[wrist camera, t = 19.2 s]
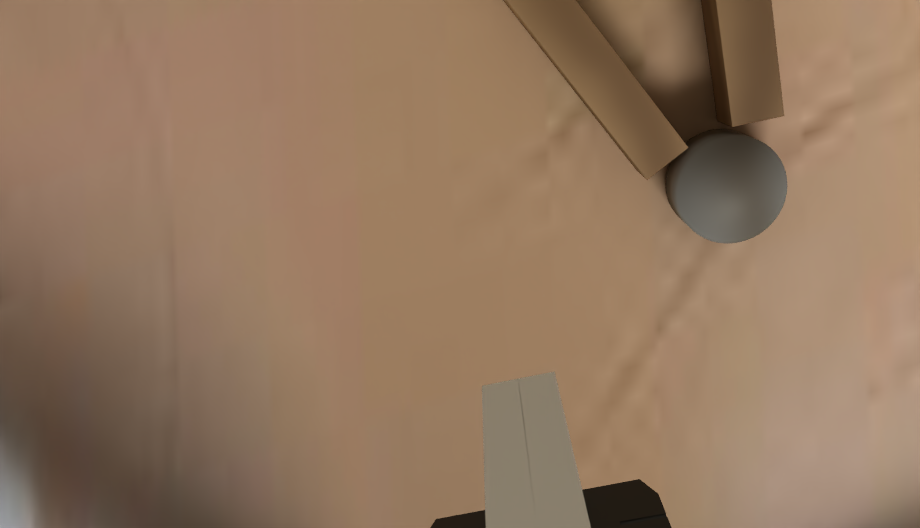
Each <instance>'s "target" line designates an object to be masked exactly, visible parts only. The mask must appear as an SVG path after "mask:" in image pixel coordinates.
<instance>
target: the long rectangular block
mask: <svg viewBox="0 0 920 528" xmlns="http://www.w3.org/2000/svg"><path fill="white" fill-rule="evenodd" d="M503 1H504V2H505V3H506V4H507V6H508V7H509V8H510V10H511V11H512V12H513V13H514V15H515V16H516V17H517V18H518V20H519V21H520V22H521V24H522V25H523V26H524V27H525V29H526V30H527V31H528V32H529V34H530V35H531V36H532V38H533V39H534V40H535V41H536V43H537V44H538V45H539V46H540V48H541V49H542V50H543V52H544V53H545V54H546V55H547V57H548V58H549V59H550V60H551V62H552V63H553V64H554V66H555V67H556V68H557V69H558V71H559V72H560V73H561V74H562V76H563V77H564V78H565V80H566V81H567V82H568V83H569V85H570V86H571V87H572V89H573V90H574V91H575V92H576V94H577V95H578V96H579V97H580V99H581V100H582V101H583V103H584V104H585V105H586V106H587V108H588V109H589V110H590V111H591V113H592V114H593V115H594V117H595V118H596V119H597V120H598V122H599V123H600V124H601V125H602V127H603V128H604V129H605V131H606V132H607V133H608V134H609V136H610V137H611V138H612V139H613V141H614V142H615V143H616V145H617V146H618V147H619V148H620V150H621V151H622V152H623V153H624V155H625V156H626V157H627V159H628V160H629V161H630V162H631V164H632V165H633V166H634V167H635V169H636V170H637V171H638V172H639V173H640V174H641V175H642V176H643V177H644V178H646V179H647V180H648V179H649V178H650V177H652V176H653V175H654V174H655V173H657V172H658V171H659V170H661V169H662V168H663V167H664V166H666V165H667V164H668V163H669V162H671V161H672V160H673V159H675V158H676V157H677V156H678V155H680V154H681V153H682V152H684V151H685V150H686V149H687V148H688V146H687V145H686V144H685V143H684V141H683V140H682V139H681V137H680V136H679V135H678V133H677V132H676V131H675V129H674V128H673V127H672V126H671V124H670V123H669V122H668V120H667V119H666V118H665V116H664V115H663V114H662V112H661V111H660V110H659V108H658V107H657V106H656V105H655V103H654V102H653V101H652V99H651V98H650V97H649V95H648V94H647V93H646V91H645V90H644V89H643V87H642V86H641V85H640V84H639V82H638V81H637V80H636V78H635V77H634V76H633V74H632V73H631V72H630V70H629V69H628V68H627V67H626V65H625V64H624V63H623V61H622V60H621V59H620V57H619V56H618V55H617V53H616V52H615V51H614V49H613V48H612V47H611V46H610V44H609V43H608V42H607V40H606V39H605V38H604V36H603V35H602V34H601V32H600V31H599V30H598V28H597V27H596V26H595V25H594V23H593V22H592V21H591V19H590V18H589V17H588V15H587V14H586V13H585V11H584V10H583V9H582V8H581V6H580V5H579V4H578V2H577V1H576V0H503Z"/></svg>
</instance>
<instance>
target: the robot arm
mask: <svg viewBox="0 0 920 528" xmlns="http://www.w3.org/2000/svg"><path fill="white" fill-rule="evenodd" d="M482 404H483V443H484V481H485V510H483V511H478V512H472V513H467V514H461V515H456V516H451V517H445V518H440V519H436V520H435V522H434V523H433V525H432V526H431V528H671V525H670V523H669V520H668V518H667V516H666V513H665V510H664V507H663V505H662V502H661V500H660V497H659V495H658V493H656V492H655V491H654V490H653V489H651V488H650V487H649V486H647V485H646V484H645V483H643V482H642V481H641V480H640V479H638V480H633V481H627V482H622V483H617V484H611V485H606V486H601V487H595V488H590V489H584V490H582V487H581V483H580V479H579V474H578V470H577V466H576V462H575V457H574V453H573V449H572V444H571V440H570V436H569V432H568V427H567V423H566V419H565V414H564V410H563V406H562V402H561V397H560V393H559V389H558V384H557V380H556V376H555V372H550V373H545V374H540V375H535V376H530V377H525V378H520V379H514V380H509V381H504V382H499V383H494V384H489V385H484V386H482Z"/></svg>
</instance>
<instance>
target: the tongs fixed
mask: <svg viewBox="0 0 920 528" xmlns="http://www.w3.org/2000/svg"><path fill="white" fill-rule="evenodd" d="M701 2H702V10H703V17H704V25H705V32H706V40H707V47H708V54H709V62H710V69H711V77H712V84H713V92H714V99H715V107H716V114H717V121H719V122H722V123H724V124H726V125H729V126H731V127H735V126H739V125H744V124H749V123H753V122H758V121H763V120H767V119H772V118H777V117H781V116H784V110H783V101H782V92H781V83H780V74H779V65H778V56H777V47H776V38H775V29H774V20H773V11H772V3H771V0H701ZM685 144H686V145H687V146H688V148H687V149H686V150H685V151H684V152H682V153H681V154H680V155H678V156H677V157H676V158H675V159H673V160H672V161H671V163H670V165H669V168H668V171H667V176H666V193H667V197H668V200H669V203H670V205H671V207H672V209H673V210H674V212H675V213H676V214H677V215H678V216H679V217H680V218H681V219H682V220H683V221H684V222H685V223H686V224H687V225H688V226H689V227H690V228H691V229H692V230H693V231H694V232H696V233H697V234H698V235H700V236H702V237H703V238H705V239H708V240H710V241H714V242H718V243H737V242H741V241H745V240H748V239H750V238H753V237H755V236H756V235H758V234H760V233H761V232H763V231H764V230H765V229H766V228H768V227H769V226H770V225H771V224H772V223H773V221H774V220H775V219H776V217H777V216H778V215H779V213H780V211H781V209H782V207H783V204H784V202H785V198H786V194H787V177H786V172H785V169H784V166H783V164H782V162H781V160H780V158H779V157H778V155H777V154H776V153H775V152H774V151H773V150H772V149H771V148H770V147H769V146H767V145H766V144H764V143H763V142H761V141H759V140H756V139H754V138H752V137H749V136H747V135H744V134H742V133H739V132H737V131H733V130H726V129H717V130H710V131H707V132H703V133H701V134H699V135H696V136H695V137H693V138H691V139H690V140H689V141H687V142H686V143H685Z"/></svg>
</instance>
